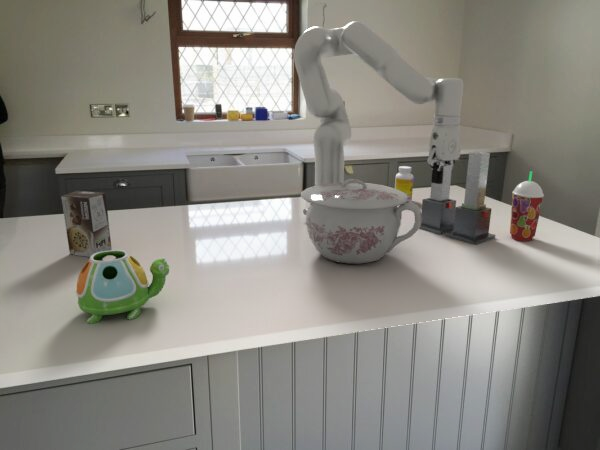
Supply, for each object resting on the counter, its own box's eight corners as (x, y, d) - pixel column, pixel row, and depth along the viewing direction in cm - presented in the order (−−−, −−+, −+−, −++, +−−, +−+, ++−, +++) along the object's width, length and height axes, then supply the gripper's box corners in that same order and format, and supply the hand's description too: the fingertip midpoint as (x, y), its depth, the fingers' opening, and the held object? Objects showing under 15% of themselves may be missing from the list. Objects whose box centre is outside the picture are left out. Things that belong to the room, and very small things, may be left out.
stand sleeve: (440, 234, 151) (443, 205, 148) (414, 226, 158) (416, 199, 156) (459, 228, 157) (462, 200, 154) (433, 221, 164) (436, 194, 162)
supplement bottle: (411, 203, 188) (414, 169, 184) (393, 202, 189) (396, 168, 185) (411, 198, 194) (414, 166, 190) (394, 198, 195) (396, 165, 191)
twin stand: (475, 244, 142) (485, 156, 135) (445, 236, 149) (453, 152, 142) (494, 238, 148) (505, 153, 140) (465, 230, 155) (474, 149, 148)
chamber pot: (284, 245, 140) (284, 172, 134) (369, 234, 150) (372, 166, 144) (329, 283, 115) (331, 195, 109) (427, 266, 126) (434, 185, 120)
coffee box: (113, 250, 135) (106, 192, 130) (96, 258, 129) (89, 198, 124) (85, 246, 138) (78, 189, 133) (68, 254, 132) (60, 195, 127)
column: (439, 224, 154) (444, 166, 148) (426, 221, 157) (431, 164, 152) (448, 221, 157) (454, 164, 151) (435, 218, 160) (440, 162, 155)
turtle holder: (177, 312, 100) (173, 257, 97) (79, 330, 93) (71, 271, 90) (166, 289, 111) (163, 238, 108) (78, 303, 104) (71, 249, 101)
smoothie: (537, 236, 150) (547, 170, 144) (537, 244, 142) (547, 175, 136) (507, 232, 153) (515, 168, 147) (505, 240, 146) (514, 172, 140)
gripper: (439, 124, 140) (433, 188, 145) (474, 121, 150) (467, 181, 155) (418, 122, 146) (413, 183, 151) (452, 119, 156) (447, 177, 161)
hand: (441, 181), depth 153 cm, fingers closed on column, 4 cm apart
